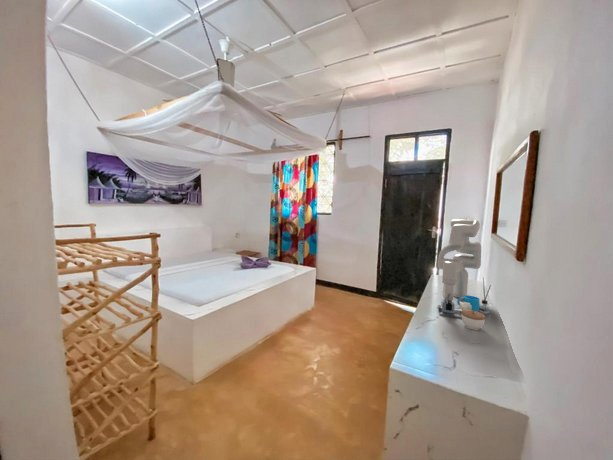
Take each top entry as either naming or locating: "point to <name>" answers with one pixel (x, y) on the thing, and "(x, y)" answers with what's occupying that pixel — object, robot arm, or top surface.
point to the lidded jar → (473, 319)
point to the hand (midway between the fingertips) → (447, 307)
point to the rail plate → (455, 315)
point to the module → (443, 305)
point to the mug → (471, 302)
